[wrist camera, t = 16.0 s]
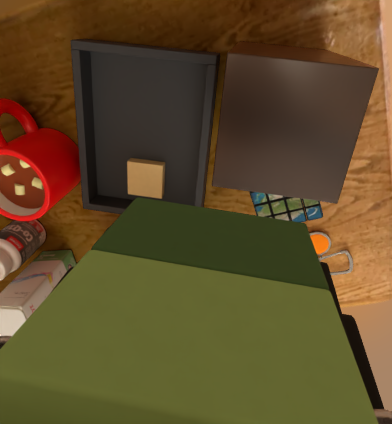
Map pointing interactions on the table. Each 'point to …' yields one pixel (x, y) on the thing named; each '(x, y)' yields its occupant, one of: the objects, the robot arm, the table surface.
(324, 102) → the stand
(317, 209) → the puzzle
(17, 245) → the pill bottle
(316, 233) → the key chain
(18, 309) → the ink box
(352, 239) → the table surface
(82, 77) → the pan
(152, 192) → the tan square tile
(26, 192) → the mug
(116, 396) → the sponge
